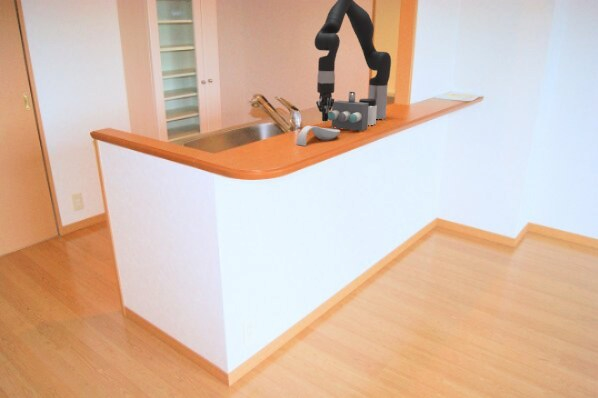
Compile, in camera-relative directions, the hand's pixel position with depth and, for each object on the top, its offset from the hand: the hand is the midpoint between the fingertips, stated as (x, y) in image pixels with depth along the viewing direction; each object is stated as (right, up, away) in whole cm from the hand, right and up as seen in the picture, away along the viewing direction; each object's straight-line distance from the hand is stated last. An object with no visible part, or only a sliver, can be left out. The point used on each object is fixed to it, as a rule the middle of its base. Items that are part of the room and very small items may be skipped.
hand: (324, 121), depth 215 cm
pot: (+13, +10, +7) cm, 18 cm away
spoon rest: (-4, -11, -14) cm, 18 cm away
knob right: (+15, +1, +3) cm, 15 cm away
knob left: (+6, +3, +8) cm, 10 cm away
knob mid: (+10, +2, +6) cm, 12 cm away
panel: (+12, -2, +10) cm, 16 cm away
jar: (+21, +1, +19) cm, 28 cm away
